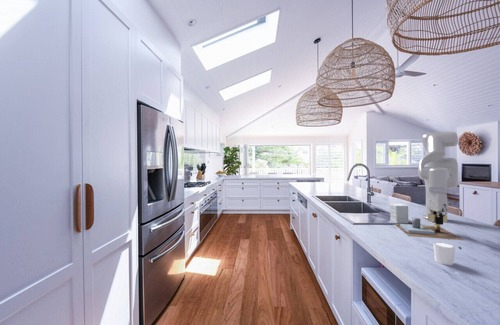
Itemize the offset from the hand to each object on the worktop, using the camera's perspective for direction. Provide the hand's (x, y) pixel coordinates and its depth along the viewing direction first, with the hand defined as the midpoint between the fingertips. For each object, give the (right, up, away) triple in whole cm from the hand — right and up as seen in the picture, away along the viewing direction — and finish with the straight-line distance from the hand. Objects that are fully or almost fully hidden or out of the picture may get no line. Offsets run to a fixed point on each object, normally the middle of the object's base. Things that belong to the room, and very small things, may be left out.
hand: (437, 223), depth 121 cm
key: (-1, -4, 0) cm, 5 cm away
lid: (-10, -5, +3) cm, 11 cm away
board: (-6, -6, +1) cm, 9 cm away
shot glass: (-25, -7, -32) cm, 41 cm away
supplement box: (-8, -6, +20) cm, 22 cm away
